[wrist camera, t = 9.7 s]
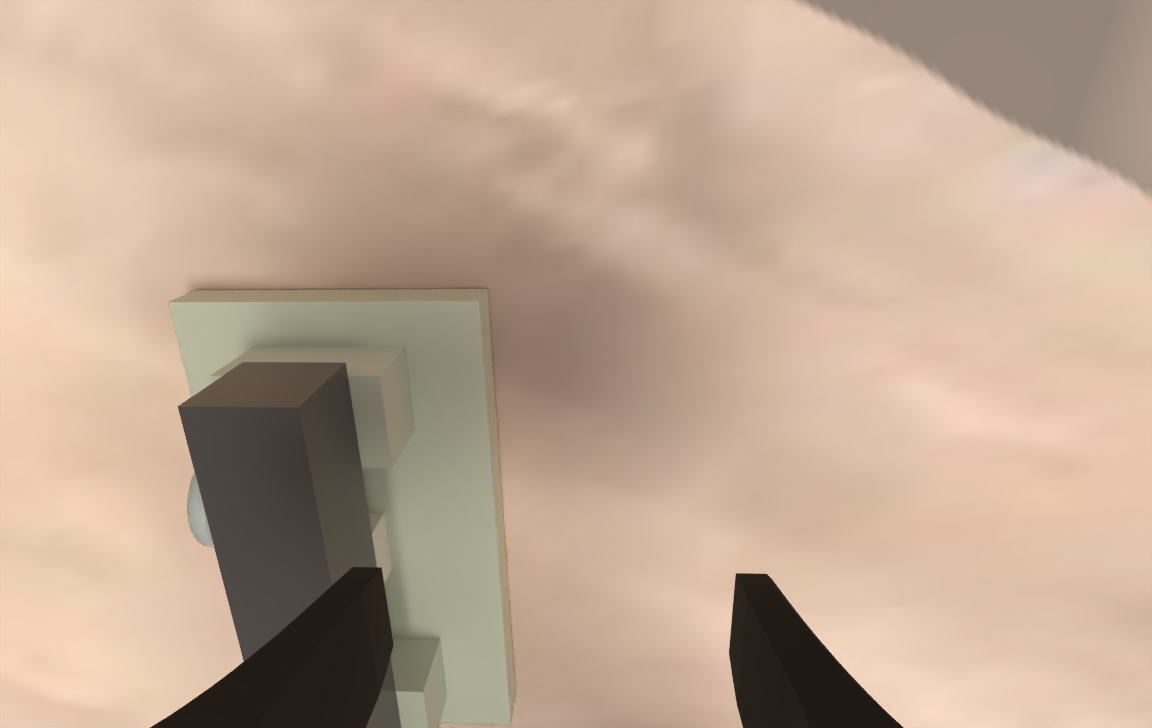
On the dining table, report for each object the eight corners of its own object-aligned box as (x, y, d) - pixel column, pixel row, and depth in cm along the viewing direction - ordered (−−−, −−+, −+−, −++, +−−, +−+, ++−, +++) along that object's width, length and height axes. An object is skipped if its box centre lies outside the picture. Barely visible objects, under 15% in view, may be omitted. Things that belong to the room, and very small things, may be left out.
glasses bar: (407, 763, 24) (380, 848, 21) (312, 760, 24) (274, 843, 22) (345, 362, 18) (298, 407, 16) (222, 361, 19) (154, 405, 16)
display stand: (515, 694, 28) (501, 783, 24) (289, 688, 29) (241, 775, 25) (487, 288, 22) (462, 325, 18) (195, 290, 22) (112, 326, 18)
